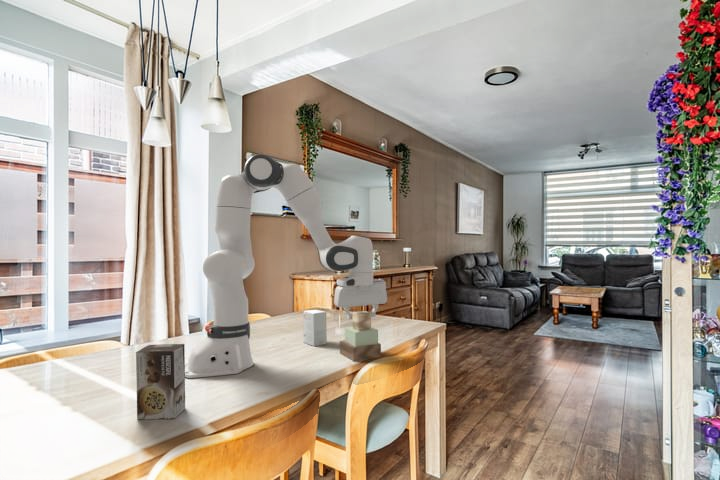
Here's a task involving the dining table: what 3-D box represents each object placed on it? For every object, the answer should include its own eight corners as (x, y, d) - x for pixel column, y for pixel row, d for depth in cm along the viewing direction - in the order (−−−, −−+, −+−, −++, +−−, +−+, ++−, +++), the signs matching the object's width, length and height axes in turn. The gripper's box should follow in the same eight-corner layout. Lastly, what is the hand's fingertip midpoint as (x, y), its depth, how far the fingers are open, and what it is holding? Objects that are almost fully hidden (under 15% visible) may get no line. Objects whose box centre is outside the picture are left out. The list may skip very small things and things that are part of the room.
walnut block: (353, 362, 135) (353, 348, 135) (339, 354, 144) (339, 341, 144) (380, 357, 140) (380, 344, 140) (365, 350, 149) (365, 337, 149)
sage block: (355, 346, 136) (355, 332, 136) (345, 341, 144) (344, 327, 144) (378, 343, 140) (378, 329, 140) (366, 338, 148) (366, 325, 148)
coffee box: (186, 407, 98) (186, 343, 98) (175, 419, 91) (174, 350, 91) (149, 408, 97) (149, 343, 97) (135, 420, 91) (135, 351, 91)
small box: (327, 343, 158) (326, 311, 158) (313, 346, 154) (313, 313, 154) (316, 340, 164) (315, 309, 164) (303, 342, 160) (302, 310, 160)
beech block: (358, 331, 138) (358, 314, 138) (352, 328, 143) (352, 311, 143) (371, 329, 141) (371, 312, 141) (364, 326, 145) (364, 310, 145)
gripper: (381, 277, 150) (381, 313, 150) (332, 280, 140) (332, 318, 140) (390, 279, 144) (390, 316, 144) (339, 282, 135) (339, 322, 135)
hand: (361, 317), depth 142 cm, fingers open, 8 cm apart
